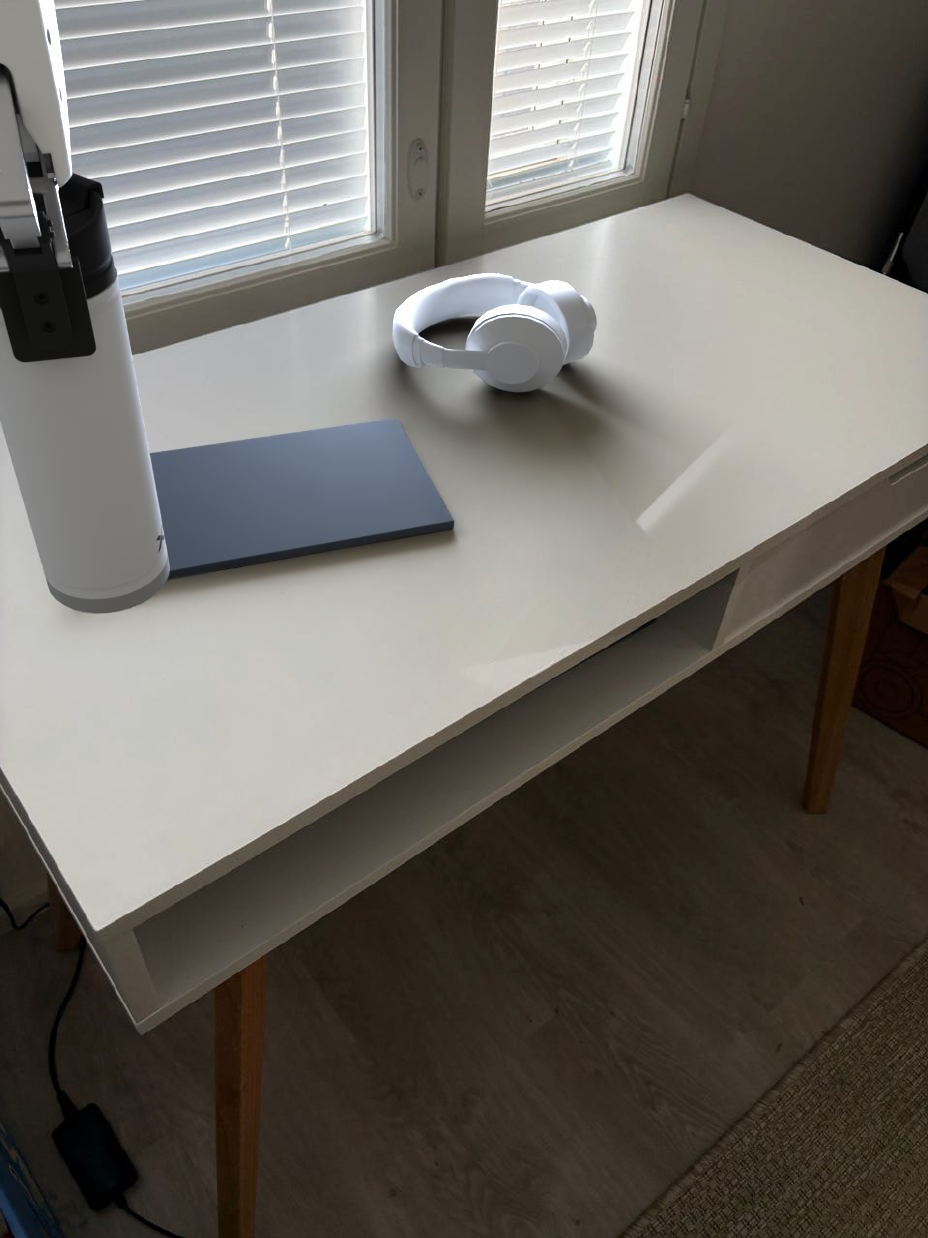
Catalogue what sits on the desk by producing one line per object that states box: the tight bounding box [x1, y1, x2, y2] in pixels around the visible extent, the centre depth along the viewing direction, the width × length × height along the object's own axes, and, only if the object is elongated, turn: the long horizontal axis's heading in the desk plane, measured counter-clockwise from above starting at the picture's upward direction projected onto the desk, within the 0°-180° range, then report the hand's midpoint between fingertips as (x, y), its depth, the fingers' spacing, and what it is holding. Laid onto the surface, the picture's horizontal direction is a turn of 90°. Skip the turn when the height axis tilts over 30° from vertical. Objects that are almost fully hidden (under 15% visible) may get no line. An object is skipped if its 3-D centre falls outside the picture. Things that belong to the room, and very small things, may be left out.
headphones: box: [392, 272, 598, 393], centre depth 101 cm, size 18×8×20 cm
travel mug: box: [0, 172, 170, 615], centre depth 47 cm, size 6×7×20 cm
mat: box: [149, 417, 455, 580], centre depth 83 cm, size 28×16×1 cm, turn 110°
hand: (52, 313), depth 44 cm, fingers closed on travel mug, 6 cm apart
